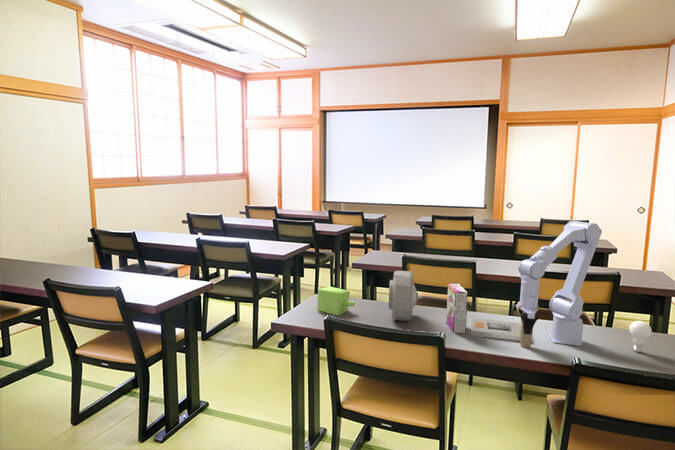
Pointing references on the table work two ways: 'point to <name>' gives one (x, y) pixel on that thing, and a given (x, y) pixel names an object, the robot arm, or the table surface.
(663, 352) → the table surface
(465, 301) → the candy bar box
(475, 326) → the rack plate
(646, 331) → the lightbulb
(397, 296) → the dial
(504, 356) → the table surface
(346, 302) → the gearbox
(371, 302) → the table surface
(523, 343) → the handle
